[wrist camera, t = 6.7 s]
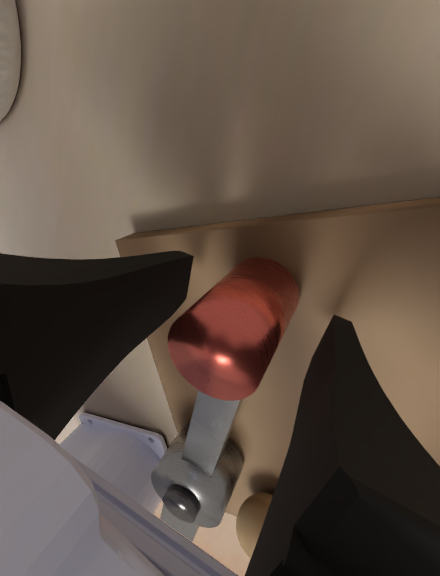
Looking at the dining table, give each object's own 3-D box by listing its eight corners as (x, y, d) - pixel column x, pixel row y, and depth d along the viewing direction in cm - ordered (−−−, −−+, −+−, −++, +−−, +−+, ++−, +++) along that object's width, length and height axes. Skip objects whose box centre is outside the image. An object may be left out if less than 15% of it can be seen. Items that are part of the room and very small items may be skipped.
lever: (224, 508, 21) (189, 591, 17) (170, 472, 22) (126, 542, 18) (330, 280, 11) (303, 355, 7) (223, 239, 12) (152, 285, 8)
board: (209, 483, 24) (176, 549, 20) (134, 232, 16) (61, 261, 13) (446, 566, 17) (466, 693, 13) (494, 190, 9) (572, 226, 6)
